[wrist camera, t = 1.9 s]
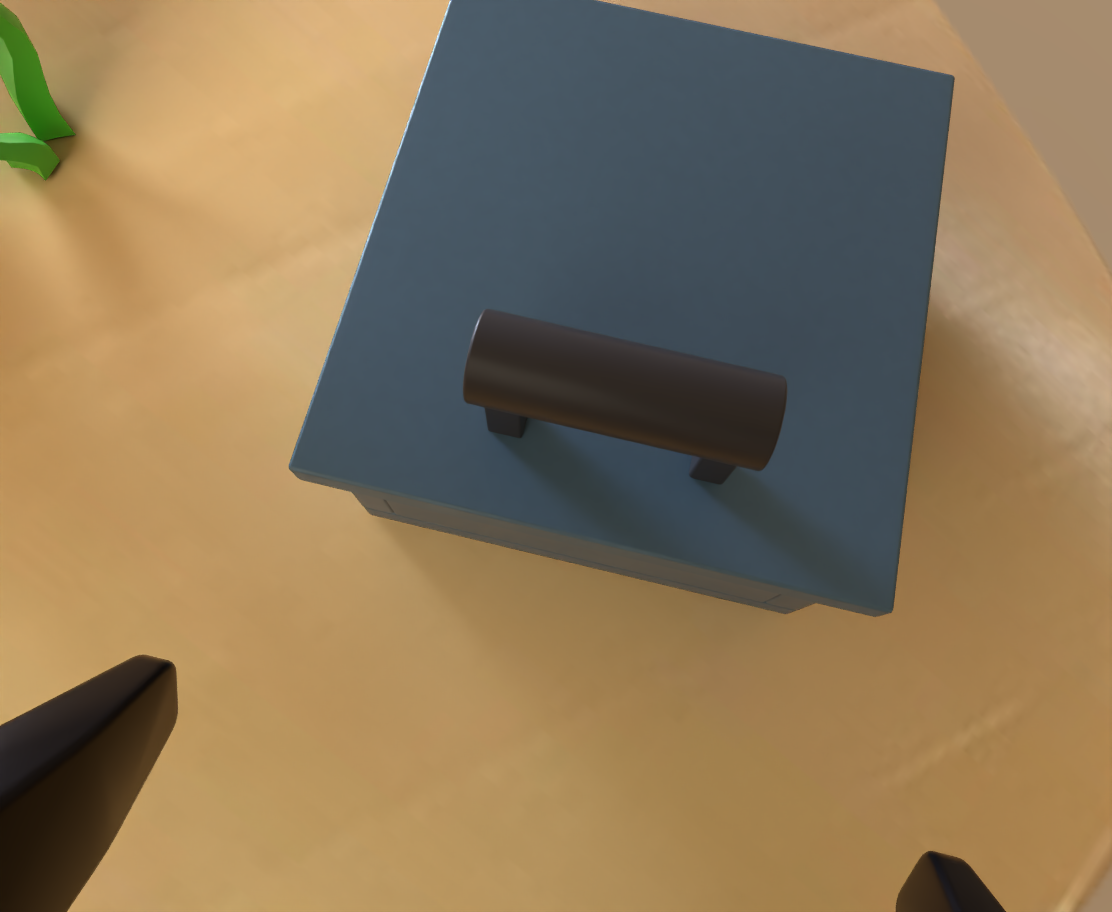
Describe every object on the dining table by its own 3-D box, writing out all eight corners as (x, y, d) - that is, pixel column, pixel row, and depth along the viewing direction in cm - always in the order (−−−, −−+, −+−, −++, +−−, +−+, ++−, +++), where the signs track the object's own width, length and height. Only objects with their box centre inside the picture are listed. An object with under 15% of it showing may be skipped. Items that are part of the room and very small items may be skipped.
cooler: (788, 615, 23) (881, 579, 17) (368, 514, 23) (310, 443, 17) (844, 243, 26) (939, 99, 20) (478, 162, 27) (462, -2, 21)
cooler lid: (877, 618, 16) (996, 585, 12) (296, 479, 17) (219, 402, 13) (940, 98, 20) (1048, -65, 16) (461, -3, 21) (444, -187, 16)
